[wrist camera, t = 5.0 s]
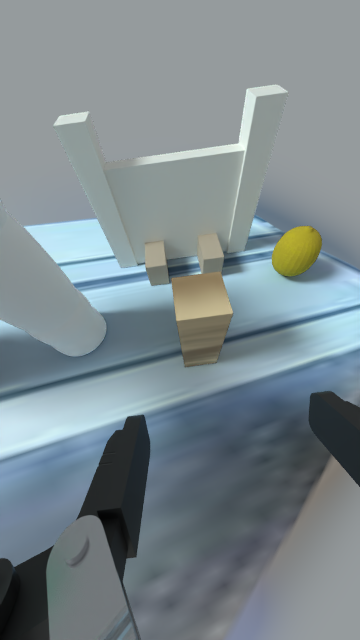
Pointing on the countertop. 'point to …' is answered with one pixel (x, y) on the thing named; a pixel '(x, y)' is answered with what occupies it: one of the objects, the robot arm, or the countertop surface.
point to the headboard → (177, 190)
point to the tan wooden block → (201, 316)
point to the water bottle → (43, 294)
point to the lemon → (296, 251)
